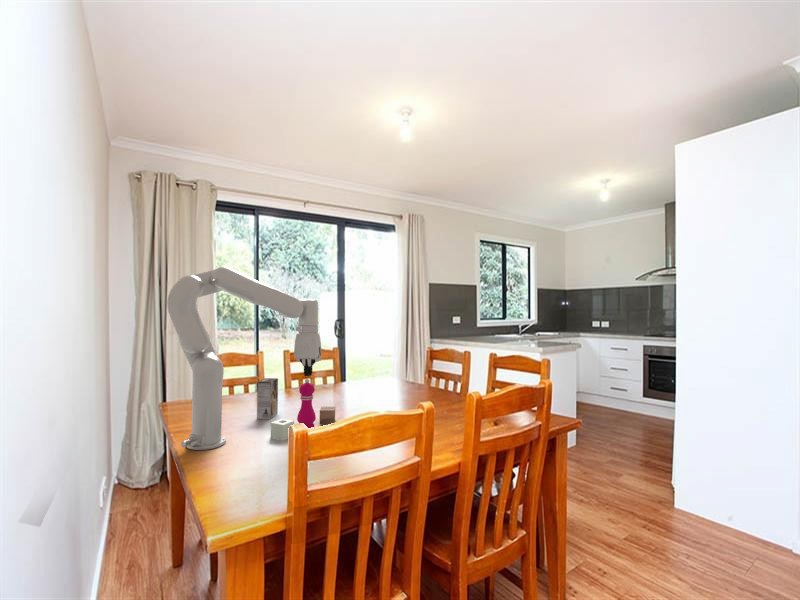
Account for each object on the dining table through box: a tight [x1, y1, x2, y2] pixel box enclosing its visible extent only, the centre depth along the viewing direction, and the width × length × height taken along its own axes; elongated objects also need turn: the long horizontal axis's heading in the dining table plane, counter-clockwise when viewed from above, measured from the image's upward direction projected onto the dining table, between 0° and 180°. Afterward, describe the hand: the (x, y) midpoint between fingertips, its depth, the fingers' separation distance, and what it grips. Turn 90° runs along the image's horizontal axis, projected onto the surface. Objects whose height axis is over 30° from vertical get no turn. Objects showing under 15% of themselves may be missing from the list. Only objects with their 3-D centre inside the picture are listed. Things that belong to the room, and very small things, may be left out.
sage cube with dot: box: [270, 418, 295, 441], centre depth 150 cm, size 6×6×6 cm
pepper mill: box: [296, 378, 317, 428], centre depth 160 cm, size 7×7×20 cm
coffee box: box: [256, 377, 279, 420], centre depth 177 cm, size 9×6×16 cm
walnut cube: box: [318, 406, 336, 426], centre depth 169 cm, size 6×6×6 cm
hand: (308, 375), depth 160 cm, fingers closed
